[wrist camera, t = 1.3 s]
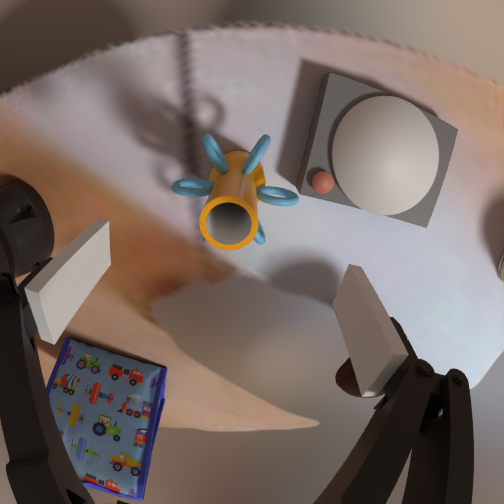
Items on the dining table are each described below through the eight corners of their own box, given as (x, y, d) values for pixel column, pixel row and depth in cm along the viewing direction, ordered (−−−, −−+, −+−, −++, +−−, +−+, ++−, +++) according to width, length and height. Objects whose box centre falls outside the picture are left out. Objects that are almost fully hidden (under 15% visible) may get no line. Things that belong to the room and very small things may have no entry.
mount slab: (295, 187, 33) (300, 196, 30) (323, 75, 27) (331, 71, 24) (416, 219, 35) (429, 230, 32) (444, 126, 29) (461, 130, 25)
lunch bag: (78, 372, 52) (36, 475, 27) (67, 333, 46) (6, 451, 20) (166, 399, 55) (143, 517, 29) (168, 364, 49) (137, 509, 23)
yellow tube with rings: (174, 151, 31) (121, 184, 18) (254, 109, 29) (256, 107, 16) (223, 235, 36) (208, 313, 23) (299, 200, 34) (329, 263, 21)
